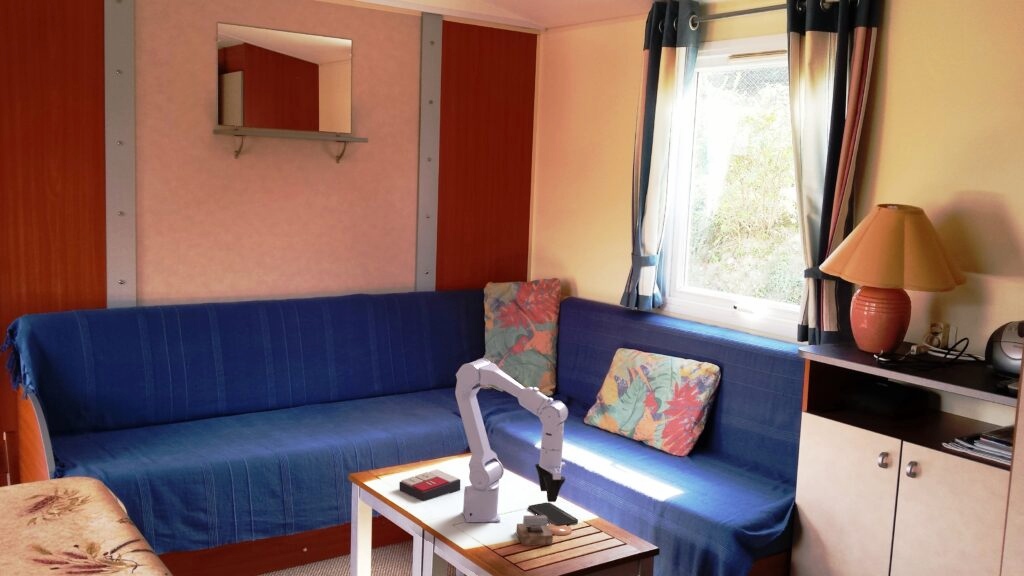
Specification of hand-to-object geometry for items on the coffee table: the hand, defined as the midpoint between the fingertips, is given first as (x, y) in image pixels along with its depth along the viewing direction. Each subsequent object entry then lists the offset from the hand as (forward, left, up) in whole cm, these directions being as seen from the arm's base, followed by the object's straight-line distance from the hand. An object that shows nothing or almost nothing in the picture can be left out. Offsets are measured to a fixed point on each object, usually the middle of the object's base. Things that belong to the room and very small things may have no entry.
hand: (548, 496), depth 239 cm
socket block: (-4, -4, -10) cm, 12 cm away
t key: (-4, -4, -10) cm, 12 cm away
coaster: (+4, +1, -10) cm, 11 cm away
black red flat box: (-28, +32, -11) cm, 44 cm away
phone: (+5, +11, -11) cm, 16 cm away
